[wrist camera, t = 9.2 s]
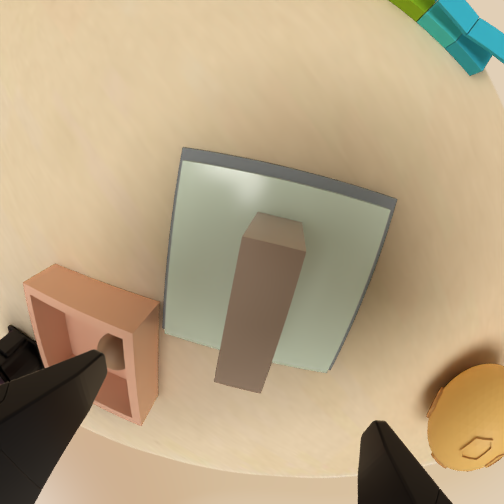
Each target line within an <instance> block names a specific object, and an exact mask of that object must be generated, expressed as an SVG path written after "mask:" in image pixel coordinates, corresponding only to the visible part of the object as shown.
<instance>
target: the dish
mask: <svg viewBox="0 0 504 504" xmlns="http://www.w3.org/2000/svg"><path fill="white" fill-rule="evenodd" d="M23 286H24V291H25V297H26V302H27V306H28V311H29V315H30V319H31V323H32V327H33V331H34V335H35V338H36V342H37V345H38V349H39V352H40V355H41V358H42V361H43V364H44V367H45V368H47V367H49V366H52V365H54V364H57V363H60V362H62V361H65V360H67V359H70V358H72V357H75V356H77V355H80V354H82V353H85V352H87V351H90V350H93V349H95V350H97V346H98V343H99V340H100V339H101V338H102V337H103V336H104V335H105V334H107V333H109V334H112V335H114V336H116V337H119V338H121V339H123V350H124V361H125V369H123V370H112V369H109V368H107V376H106V378H105V380H104V382H103V384H102V386H101V388H100V390H99V392H98V394H97V396H96V398H95V400H94V402H93V404H95V405H97V406H99V407H100V408H102V409H104V410H107V411H109V412H111V413H113V414H115V415H117V416H119V417H121V418H124V419H126V420H128V421H130V422H133V423H135V424H137V425H140V426H142V424H143V422H144V420H145V418H146V417H147V415H148V413H149V411H150V409H151V407H152V405H153V404H154V402H155V400H156V398H157V396H158V333H159V308H160V302H159V301H156V300H153V299H150V298H147V297H144V296H141V295H138V294H135V293H132V292H129V291H126V290H123V289H120V288H117V287H115V286H112V285H109V284H106V283H104V282H101V281H98V280H96V279H93V278H90V277H88V276H85V275H83V274H80V273H77V272H75V271H72V270H70V269H67V268H65V267H62V266H60V265H58V264H54V265H52V266H50V267H48V268H47V269H45V270H43V271H41V272H40V273H38V274H36V275H35V276H33V277H31V278H30V279H28V280H26V281H25V282H23Z"/></svg>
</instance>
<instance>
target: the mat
mask: <svg viewBox="0 0 504 504" xmlns="http://www.w3.org/2000/svg"><path fill="white" fill-rule="evenodd" d="M183 160H190V161H196V162H202V163H207V164H213V165H218V166H224V167H229V168H234V169H239V170H244V171H249V172H254V173H258V174H263V175H267V176H272V177H276V178H281V179H285V180H289V181H293V182H297V183H301V184H305V185H309V186H313V187H317V188H321V189H325V190H328V191H332V192H336V193H339V194H343V195H346V196H350V197H353V198H357V199H360V200H364V201H367V202H370V203H373V204H377V205H380V206H383V207H386V208H388V209H390V210H391V211H390V214H389V218H388V221H387V224H386V228H385V231H384V234H383V237H382V240H381V243H380V246H379V249H378V252H377V255H376V258H375V261H374V264H373V266H372V269H371V272H370V275H369V277H368V280H367V283H366V285H365V288H364V290H363V293H362V296H361V298H360V301H359V303H358V306H357V308H356V310H355V313H354V315H353V317H352V320H351V322H350V324H349V327H348V329H347V331H346V333H345V336H344V338H343V340H342V342H341V344H340V347H339V349H338V351H337V353H336V355H335V357H334V359H333V361H332V363H331V365H330V367H329V369H328V370H331V368H332V366H333V364H334V362H335V360H336V358H337V356H338V354H339V352H340V350H341V348H342V346H343V344H344V341H345V339H346V337H347V335H348V333H349V331H350V328H351V326H352V324H353V322H354V319H355V317H356V315H357V312H358V310H359V308H360V305H361V303H362V300H363V298H364V295H365V293H366V290H367V288H368V285H369V283H370V280H371V278H372V275H373V272H374V270H375V267H376V264H377V261H378V258H379V256H380V253H381V250H382V247H383V244H384V241H385V238H386V235H387V232H388V229H389V225H390V222H391V219H392V216H393V212H394V209H395V205H396V202H397V199H395V198H392V197H390V196H387V195H384V194H380V193H377V192H374V191H371V190H368V189H365V188H362V187H358V186H355V185H352V184H348V183H345V182H341V181H338V180H334V179H331V178H327V177H324V176H320V175H316V174H312V173H308V172H304V171H300V170H296V169H292V168H288V167H284V166H280V165H275V164H271V163H266V162H262V161H257V160H252V159H247V158H242V157H237V156H232V155H227V154H221V153H216V152H210V151H204V150H198V149H191V148H184V147H183V148H182V154H181V160H180V165H179V171H178V178H177V184H176V191H175V197H174V205H173V212H172V220H171V228H170V237H169V246H168V256H167V266H166V278H165V291H164V307H163V327H162V328H163V329H165V314H166V297H167V283H168V271H169V260H170V250H171V241H172V232H173V223H174V215H175V208H176V201H177V194H178V187H179V180H180V174H181V168H182V162H183Z"/></svg>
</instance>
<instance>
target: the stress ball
mask: <svg viewBox="0 0 504 504" xmlns="http://www.w3.org/2000/svg"><path fill="white" fill-rule="evenodd" d="M427 417H428V418H429V421H428V430H427V433H428V442H429V446H430V448H431V451H432V454H431V455H432V457H433V458H434V459H435V460H436V462H437V463H438V464H440V465H441V466H442V467H444V468H447V467H448V468H450V469H453V470H457V471H467V472H468V471H472V470H476V469H480V468H483V467H486V468H487V467H489V466H491V465H492V464H494V463H496V462H497V461H498V460H500V459H501V458H502V457H503V456H504V366H502V365H499V364H481V365H477V366H474V367H472V368H469V369H467V370H465V371H463V372H462V373H460V374H459V375H457V376H456V377H455V378H454V379H453V380H451V381H450V382H449V383H448V384H447V386H446V387H445V388H444V387H441V388H440V390H439V391H438V393H437V395H436V398H435V399H434V401H433V403H432V405H431V407H430V409H429V411H428V413H427Z"/></svg>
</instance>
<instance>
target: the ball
mask: <svg viewBox="0 0 504 504" xmlns="http://www.w3.org/2000/svg"><path fill="white" fill-rule="evenodd" d="M97 350H98V351H100V352H102V353H104V355H105V358H106V364H107V368H109V369H112V370H123V369H125V361H124V350H123V339H121V338H119V337H116V336H114V335H112V334H109V333H107V334H105V335H104V336H103V337H102V338H101V339H100V340H99V343H98V346H97Z"/></svg>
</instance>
